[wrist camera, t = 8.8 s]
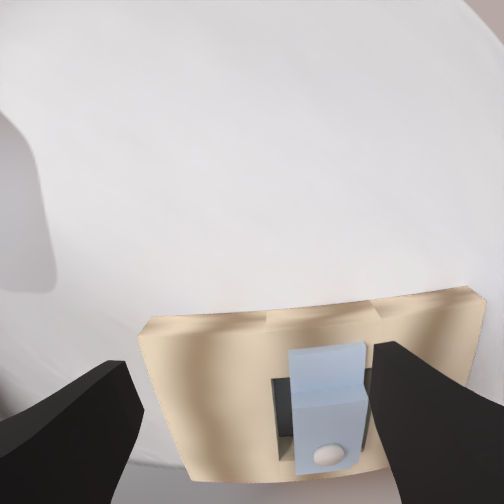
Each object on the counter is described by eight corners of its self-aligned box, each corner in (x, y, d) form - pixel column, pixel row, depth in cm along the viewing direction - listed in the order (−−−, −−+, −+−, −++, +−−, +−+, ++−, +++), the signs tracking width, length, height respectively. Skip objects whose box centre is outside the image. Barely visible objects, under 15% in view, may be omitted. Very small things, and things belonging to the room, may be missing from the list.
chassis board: (466, 285, 17) (486, 301, 15) (430, 433, 21) (439, 453, 18) (151, 316, 19) (137, 336, 16) (197, 458, 22) (191, 480, 20)
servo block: (352, 318, 18) (375, 367, 13) (345, 438, 21) (355, 487, 16) (286, 325, 18) (289, 378, 14) (294, 443, 21) (296, 494, 16)
